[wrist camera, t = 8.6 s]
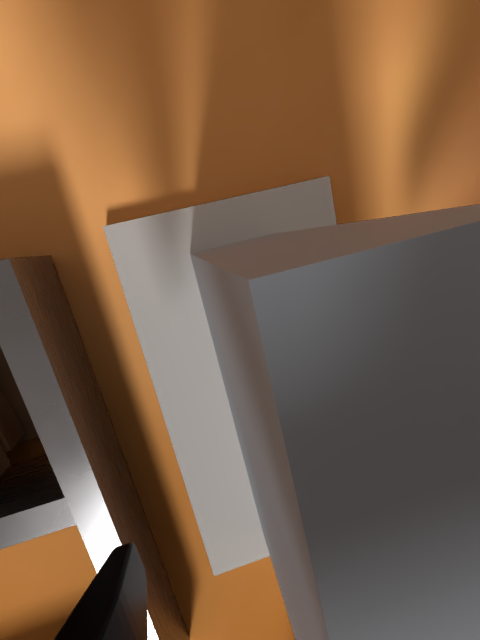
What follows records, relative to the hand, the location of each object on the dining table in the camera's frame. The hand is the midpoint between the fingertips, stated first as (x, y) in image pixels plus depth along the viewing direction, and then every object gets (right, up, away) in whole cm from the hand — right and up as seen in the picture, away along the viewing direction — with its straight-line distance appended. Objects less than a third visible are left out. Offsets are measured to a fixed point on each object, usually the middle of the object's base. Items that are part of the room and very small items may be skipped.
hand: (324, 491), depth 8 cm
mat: (-1, +1, +6) cm, 6 cm away
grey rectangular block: (-1, +1, +5) cm, 6 cm away
